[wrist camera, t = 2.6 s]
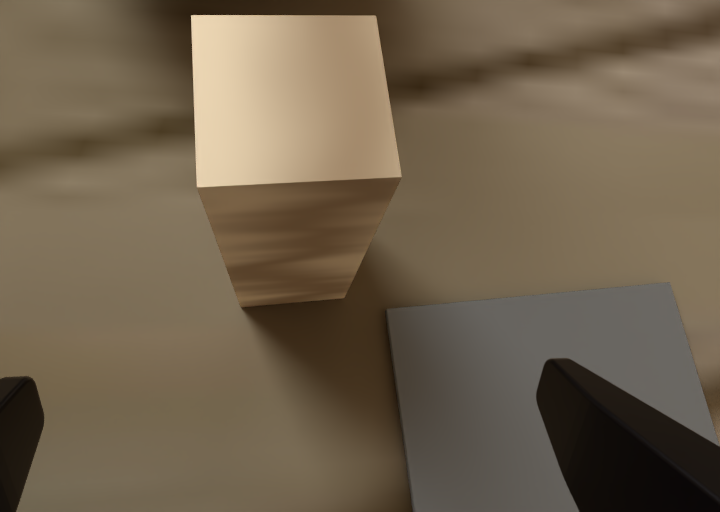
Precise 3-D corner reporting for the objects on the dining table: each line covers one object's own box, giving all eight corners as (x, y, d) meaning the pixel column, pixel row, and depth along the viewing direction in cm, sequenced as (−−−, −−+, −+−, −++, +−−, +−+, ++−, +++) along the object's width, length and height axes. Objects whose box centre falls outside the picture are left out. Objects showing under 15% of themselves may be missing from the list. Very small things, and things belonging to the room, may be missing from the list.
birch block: (240, 307, 22) (196, 187, 11) (235, 210, 24) (191, 15, 12) (344, 298, 23) (401, 176, 12) (333, 204, 24) (375, 15, 13)
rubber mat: (455, 822, 18) (459, 830, 18) (385, 310, 23) (386, 309, 23) (798, 730, 20) (807, 735, 20) (663, 284, 26) (669, 282, 25)
